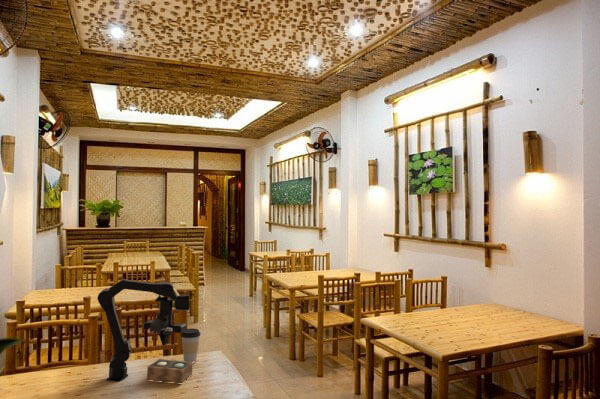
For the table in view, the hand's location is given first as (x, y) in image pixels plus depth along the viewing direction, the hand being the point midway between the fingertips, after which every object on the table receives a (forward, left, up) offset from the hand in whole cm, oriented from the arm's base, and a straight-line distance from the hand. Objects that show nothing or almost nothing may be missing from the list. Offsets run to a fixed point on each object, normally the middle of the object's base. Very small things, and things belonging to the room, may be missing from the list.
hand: (163, 345), depth 184 cm
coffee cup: (+5, +16, -13) cm, 22 cm away
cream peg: (+1, -4, -13) cm, 13 cm away
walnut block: (+5, -4, -13) cm, 14 cm away
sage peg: (+9, -4, -13) cm, 16 cm away
